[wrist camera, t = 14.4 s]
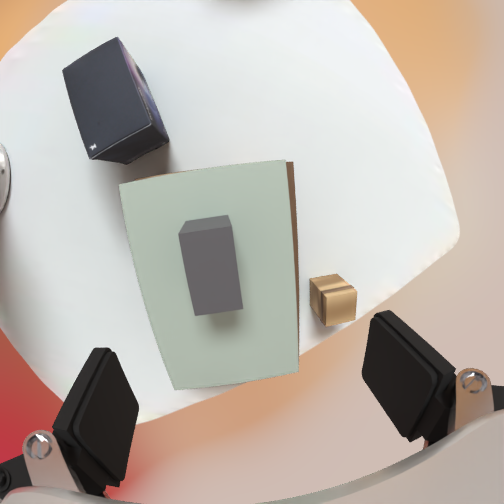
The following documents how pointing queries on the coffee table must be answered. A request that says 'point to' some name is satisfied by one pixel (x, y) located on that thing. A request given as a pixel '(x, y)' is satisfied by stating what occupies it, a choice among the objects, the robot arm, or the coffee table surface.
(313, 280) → the wooden block
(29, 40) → the coffee table surface
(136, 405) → the robot arm
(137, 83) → the small box
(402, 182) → the coffee table surface
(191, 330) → the lid
